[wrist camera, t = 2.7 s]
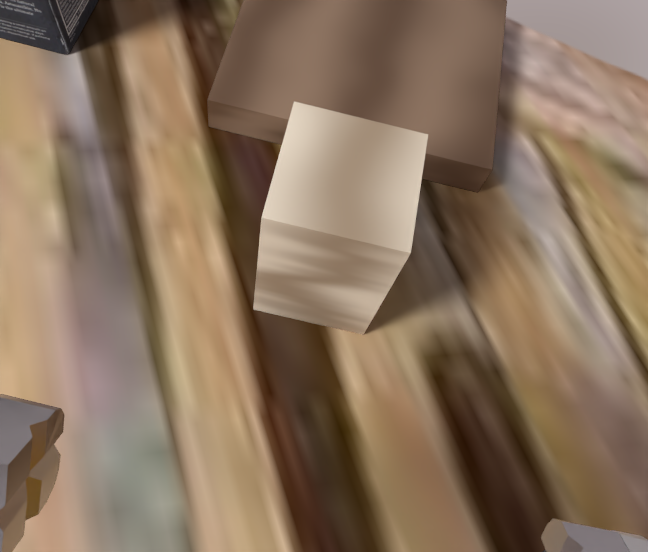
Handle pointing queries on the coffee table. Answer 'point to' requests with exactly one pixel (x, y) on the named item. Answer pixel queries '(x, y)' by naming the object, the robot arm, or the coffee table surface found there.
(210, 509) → the coffee table surface
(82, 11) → the small box
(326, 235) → the birch block
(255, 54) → the walnut board
